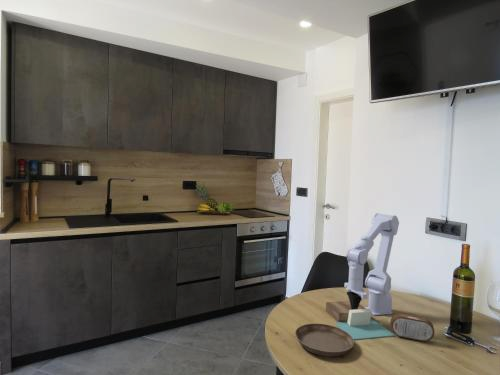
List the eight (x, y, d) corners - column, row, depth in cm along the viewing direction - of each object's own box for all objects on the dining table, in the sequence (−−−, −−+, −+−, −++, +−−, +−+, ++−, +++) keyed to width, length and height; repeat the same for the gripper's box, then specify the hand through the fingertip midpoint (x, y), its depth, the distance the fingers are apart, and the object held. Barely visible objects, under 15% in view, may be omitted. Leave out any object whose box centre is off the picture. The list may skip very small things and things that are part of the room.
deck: (353, 309, 154) (354, 300, 154) (368, 320, 142) (369, 311, 142) (325, 311, 151) (326, 302, 150) (338, 322, 139) (339, 313, 139)
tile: (369, 308, 138) (371, 311, 136) (366, 321, 139) (369, 324, 138) (349, 309, 136) (351, 312, 134) (347, 322, 137) (349, 326, 135)
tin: (432, 340, 126) (434, 319, 126) (434, 344, 123) (436, 322, 123) (389, 332, 131) (391, 311, 131) (390, 335, 128) (392, 314, 128)
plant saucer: (345, 332, 131) (345, 324, 131) (361, 362, 111) (361, 352, 110) (292, 330, 132) (292, 321, 132) (298, 359, 111) (298, 349, 111)
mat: (373, 320, 142) (373, 319, 142) (394, 336, 129) (394, 335, 129) (334, 323, 138) (334, 322, 138) (352, 340, 125) (352, 339, 125)
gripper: (338, 272, 146) (337, 303, 147) (356, 283, 132) (354, 317, 133) (353, 272, 148) (351, 302, 148) (372, 283, 134) (370, 316, 134)
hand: (354, 309), depth 140 cm, fingers closed
